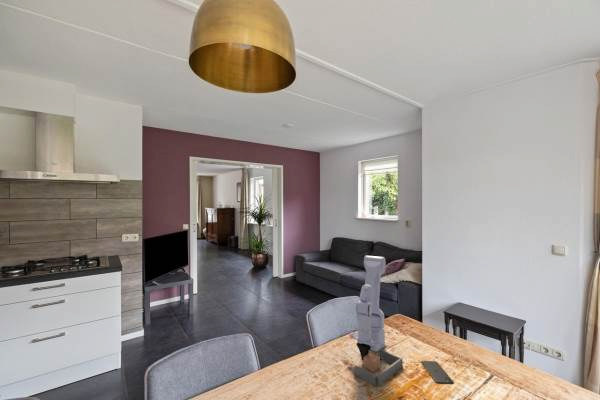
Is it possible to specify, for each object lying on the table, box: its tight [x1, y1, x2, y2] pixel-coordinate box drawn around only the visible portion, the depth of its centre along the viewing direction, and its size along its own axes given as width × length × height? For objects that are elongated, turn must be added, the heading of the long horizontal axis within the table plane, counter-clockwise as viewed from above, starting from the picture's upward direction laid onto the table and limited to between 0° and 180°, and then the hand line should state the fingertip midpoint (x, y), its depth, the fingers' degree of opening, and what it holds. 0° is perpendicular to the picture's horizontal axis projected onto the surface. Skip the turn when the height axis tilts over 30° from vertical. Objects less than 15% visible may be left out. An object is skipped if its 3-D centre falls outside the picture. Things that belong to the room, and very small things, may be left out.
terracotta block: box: [363, 352, 381, 373], centre depth 116 cm, size 5×5×4 cm
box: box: [353, 348, 403, 388], centre depth 114 cm, size 20×11×4 cm, turn 132°
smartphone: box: [420, 360, 455, 385], centre depth 113 cm, size 7×1×15 cm
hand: (364, 359), depth 119 cm, fingers closed
